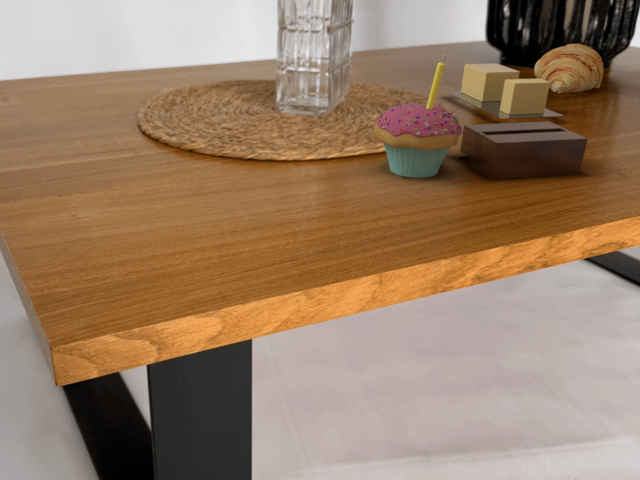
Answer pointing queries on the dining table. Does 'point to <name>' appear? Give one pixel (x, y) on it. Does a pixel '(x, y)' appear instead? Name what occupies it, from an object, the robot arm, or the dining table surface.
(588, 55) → the croissant
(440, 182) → the dining table surface
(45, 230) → the dining table surface
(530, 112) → the butter pat
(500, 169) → the knife block
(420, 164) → the cupcake
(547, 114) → the butter board
